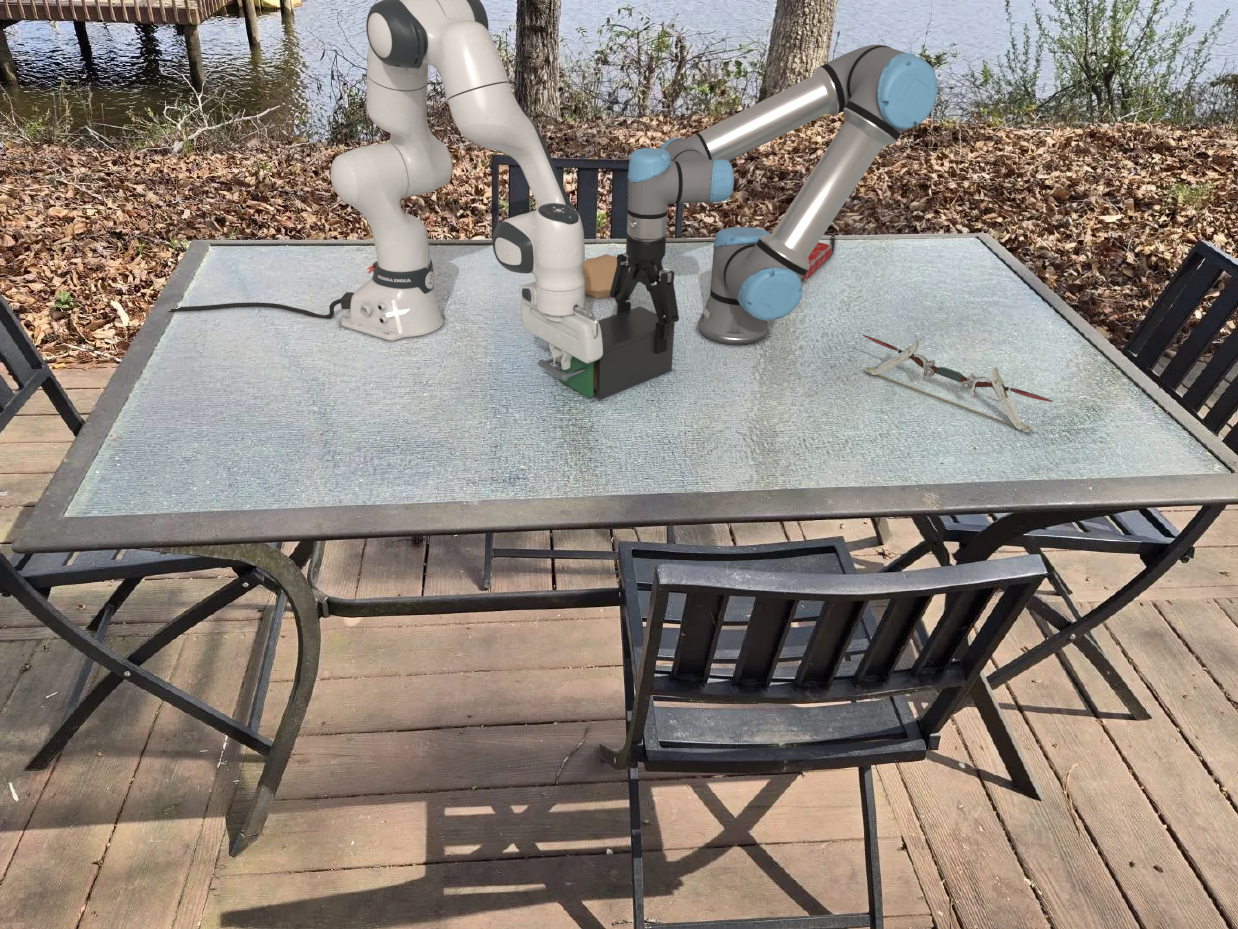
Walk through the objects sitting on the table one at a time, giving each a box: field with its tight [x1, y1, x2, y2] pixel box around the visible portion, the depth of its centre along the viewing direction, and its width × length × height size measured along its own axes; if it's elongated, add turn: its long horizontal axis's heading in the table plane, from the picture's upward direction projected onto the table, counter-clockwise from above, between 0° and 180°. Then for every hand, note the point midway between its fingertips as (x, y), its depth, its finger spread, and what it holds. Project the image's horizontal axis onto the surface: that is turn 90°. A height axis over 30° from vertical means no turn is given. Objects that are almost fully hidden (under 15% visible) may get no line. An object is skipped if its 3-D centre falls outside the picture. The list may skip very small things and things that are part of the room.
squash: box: [583, 253, 630, 299], centre depth 210 cm, size 11×20×9 cm, turn 90°
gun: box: [801, 241, 832, 284], centre depth 227 cm, size 4×31×19 cm
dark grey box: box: [593, 305, 676, 401], centre depth 175 cm, size 19×10×11 cm, turn 131°
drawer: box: [537, 356, 597, 399], centre depth 172 cm, size 24×9×9 cm, turn 131°
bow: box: [862, 334, 1055, 433], centre depth 169 cm, size 39×2×10 cm, turn 47°
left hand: (562, 366), depth 165 cm, fingers closed
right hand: (641, 342), depth 178 cm, fingers closed on dark grey box, 10 cm apart
